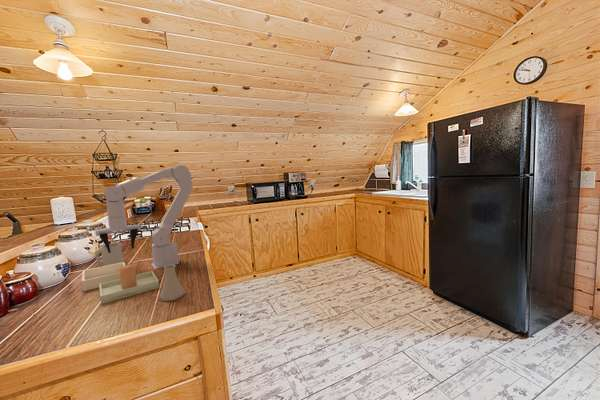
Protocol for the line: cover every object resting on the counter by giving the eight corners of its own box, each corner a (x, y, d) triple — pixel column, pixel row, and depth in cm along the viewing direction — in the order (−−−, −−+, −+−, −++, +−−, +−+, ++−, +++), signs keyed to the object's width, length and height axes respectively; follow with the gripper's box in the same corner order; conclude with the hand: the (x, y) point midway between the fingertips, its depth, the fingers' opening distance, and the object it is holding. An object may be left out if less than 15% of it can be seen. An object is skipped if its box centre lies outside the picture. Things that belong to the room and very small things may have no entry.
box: (125, 271, 105) (124, 261, 105) (128, 281, 95) (127, 270, 95) (84, 280, 97) (82, 270, 97) (83, 292, 87) (81, 281, 87)
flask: (190, 292, 85) (187, 263, 83) (172, 303, 78) (169, 271, 77) (172, 289, 87) (169, 261, 86) (154, 300, 80) (151, 269, 79)
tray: (152, 277, 98) (152, 270, 98) (159, 287, 89) (158, 280, 89) (100, 290, 88) (99, 283, 88) (101, 304, 79) (100, 296, 79)
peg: (132, 282, 91) (130, 263, 91) (139, 284, 89) (137, 265, 89) (118, 288, 88) (116, 268, 87) (126, 290, 86) (123, 270, 85)
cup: (119, 266, 111) (117, 246, 110) (92, 270, 108) (89, 249, 107) (125, 261, 118) (123, 242, 117) (100, 264, 115) (97, 245, 114)
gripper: (137, 213, 109) (140, 244, 111) (93, 218, 100) (98, 251, 101) (139, 214, 103) (143, 247, 105) (93, 220, 94) (98, 256, 96)
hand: (121, 250), depth 103 cm, fingers open, 7 cm apart
